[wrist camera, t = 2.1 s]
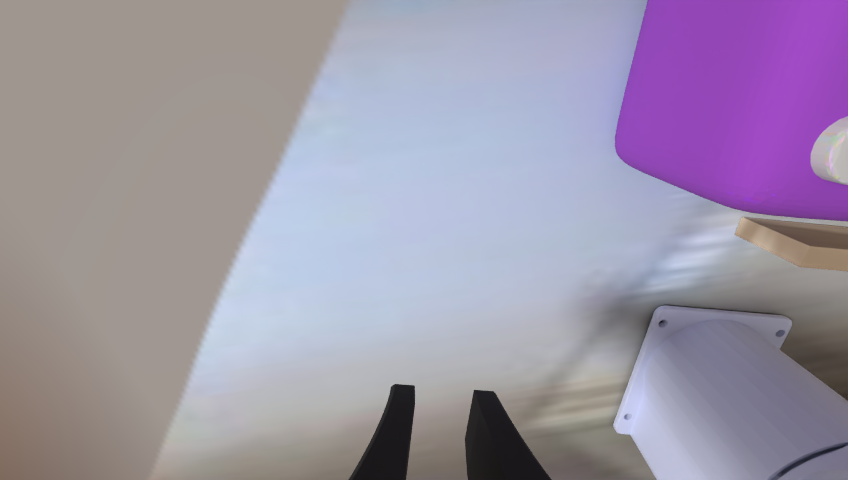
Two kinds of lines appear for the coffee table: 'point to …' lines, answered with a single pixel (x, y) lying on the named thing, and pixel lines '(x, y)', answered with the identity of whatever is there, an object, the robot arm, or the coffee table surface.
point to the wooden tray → (799, 242)
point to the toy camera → (743, 103)
